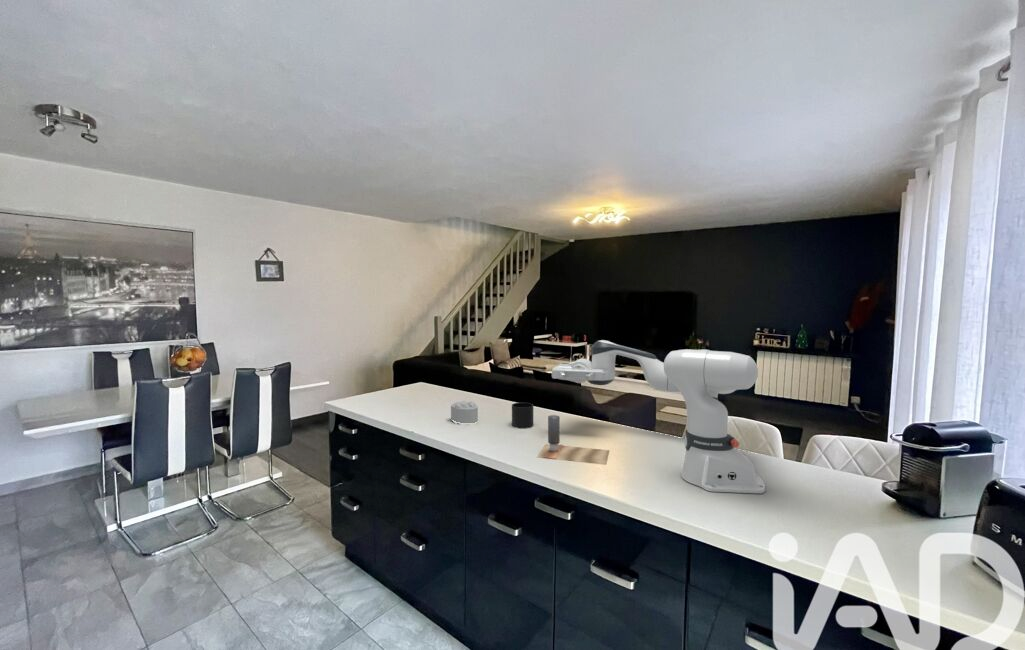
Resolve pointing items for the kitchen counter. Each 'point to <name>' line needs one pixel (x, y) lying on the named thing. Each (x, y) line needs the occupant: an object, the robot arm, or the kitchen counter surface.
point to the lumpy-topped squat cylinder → (464, 412)
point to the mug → (522, 415)
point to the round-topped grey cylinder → (553, 432)
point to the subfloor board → (575, 454)
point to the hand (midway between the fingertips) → (575, 376)
